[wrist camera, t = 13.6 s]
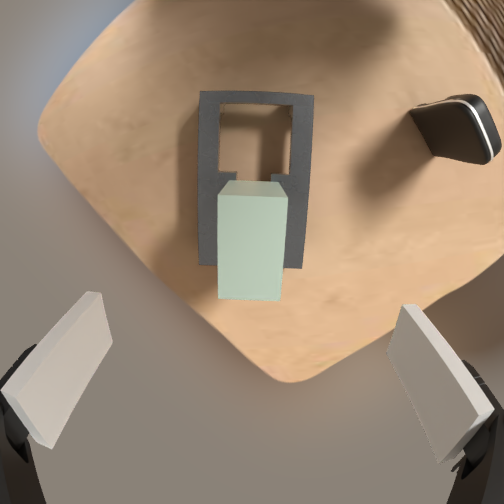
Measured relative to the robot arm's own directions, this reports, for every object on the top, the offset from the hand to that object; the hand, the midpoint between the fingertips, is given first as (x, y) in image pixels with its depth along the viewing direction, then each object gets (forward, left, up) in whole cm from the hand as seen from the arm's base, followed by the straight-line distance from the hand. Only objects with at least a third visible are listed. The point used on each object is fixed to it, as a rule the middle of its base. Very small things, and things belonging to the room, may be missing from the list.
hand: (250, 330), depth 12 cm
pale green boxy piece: (0, 0, -23) cm, 23 cm away
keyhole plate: (-4, 0, -23) cm, 23 cm away
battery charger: (-12, +21, -23) cm, 34 cm away
